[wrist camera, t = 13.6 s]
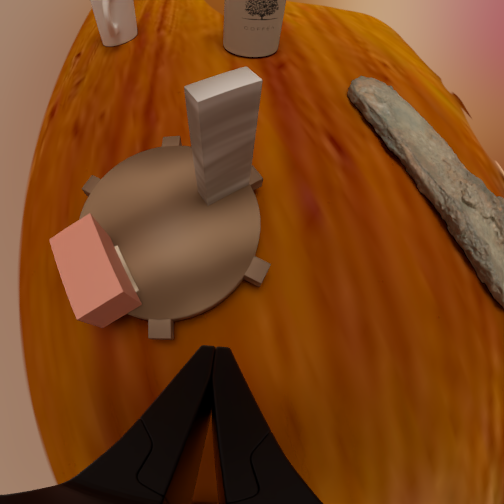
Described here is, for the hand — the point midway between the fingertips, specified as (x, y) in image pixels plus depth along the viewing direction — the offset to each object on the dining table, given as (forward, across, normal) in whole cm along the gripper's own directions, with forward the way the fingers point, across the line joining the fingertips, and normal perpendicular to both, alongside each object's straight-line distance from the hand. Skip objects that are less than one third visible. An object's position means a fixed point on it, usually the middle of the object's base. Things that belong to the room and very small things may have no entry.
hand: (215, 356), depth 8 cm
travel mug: (+38, +1, -19) cm, 43 cm away
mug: (+41, +23, -21) cm, 51 cm away
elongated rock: (+23, -24, -3) cm, 33 cm away
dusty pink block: (+11, +9, +5) cm, 15 cm away
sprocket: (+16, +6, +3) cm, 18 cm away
